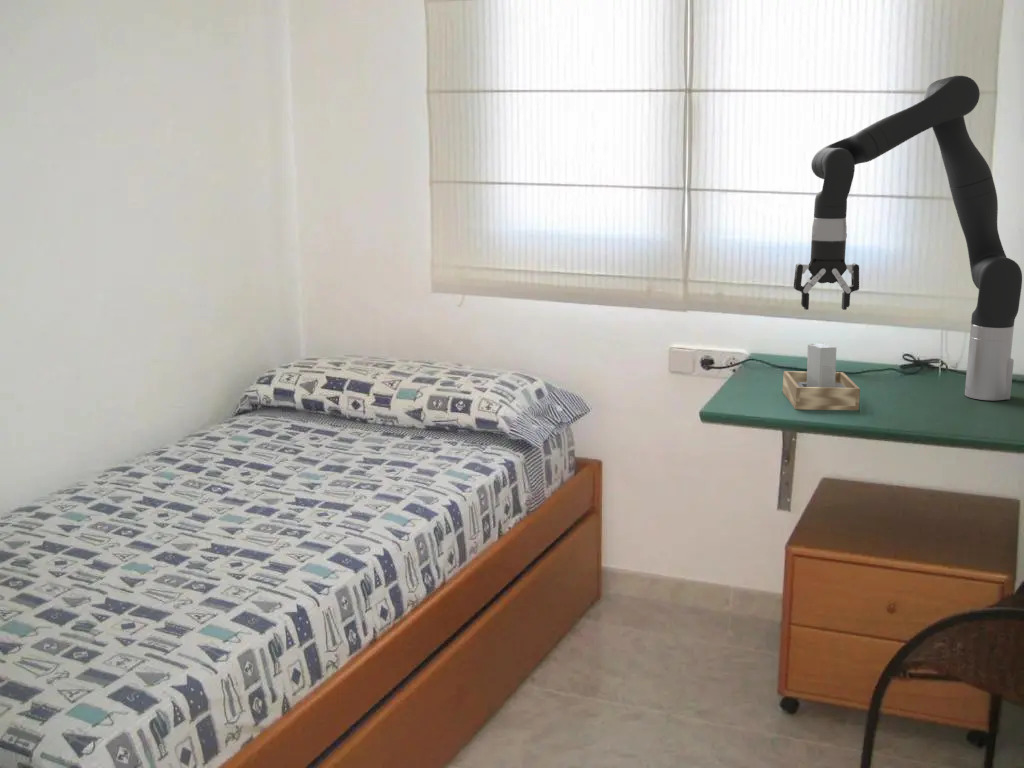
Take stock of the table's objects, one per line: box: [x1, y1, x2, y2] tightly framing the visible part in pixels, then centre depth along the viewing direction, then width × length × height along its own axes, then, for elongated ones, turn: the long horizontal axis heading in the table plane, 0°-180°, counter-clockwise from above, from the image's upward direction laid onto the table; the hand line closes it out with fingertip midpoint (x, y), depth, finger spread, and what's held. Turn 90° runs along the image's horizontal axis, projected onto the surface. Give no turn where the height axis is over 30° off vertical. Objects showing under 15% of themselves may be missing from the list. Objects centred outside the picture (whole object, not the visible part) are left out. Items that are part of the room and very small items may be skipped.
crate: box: [782, 370, 861, 411], centre depth 260 cm, size 14×18×5 cm
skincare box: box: [806, 342, 837, 388], centre depth 259 cm, size 6×4×12 cm
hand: (824, 309), depth 256 cm, fingers open, 8 cm apart
